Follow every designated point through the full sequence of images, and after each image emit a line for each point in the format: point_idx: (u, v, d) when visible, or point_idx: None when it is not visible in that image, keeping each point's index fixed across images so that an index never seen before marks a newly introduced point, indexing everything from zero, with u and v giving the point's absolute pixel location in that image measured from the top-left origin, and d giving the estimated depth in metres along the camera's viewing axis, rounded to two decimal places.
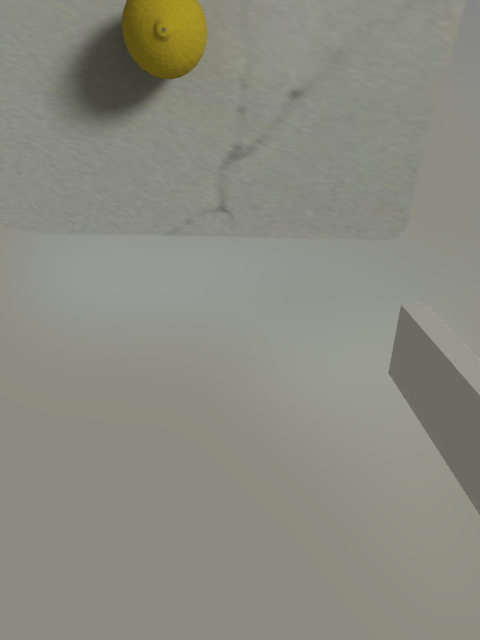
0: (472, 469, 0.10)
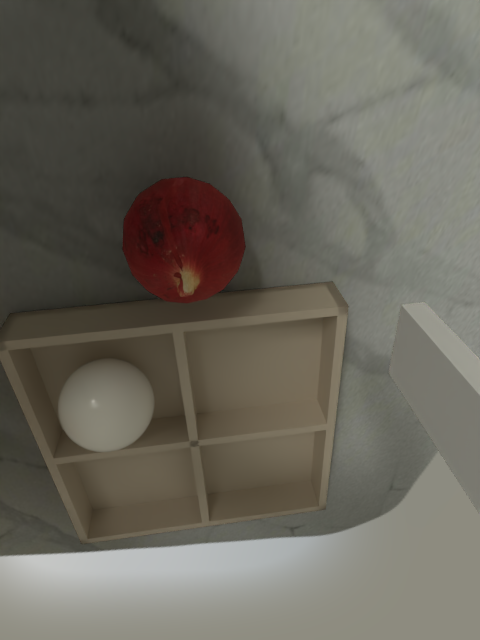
0: (472, 469, 0.10)
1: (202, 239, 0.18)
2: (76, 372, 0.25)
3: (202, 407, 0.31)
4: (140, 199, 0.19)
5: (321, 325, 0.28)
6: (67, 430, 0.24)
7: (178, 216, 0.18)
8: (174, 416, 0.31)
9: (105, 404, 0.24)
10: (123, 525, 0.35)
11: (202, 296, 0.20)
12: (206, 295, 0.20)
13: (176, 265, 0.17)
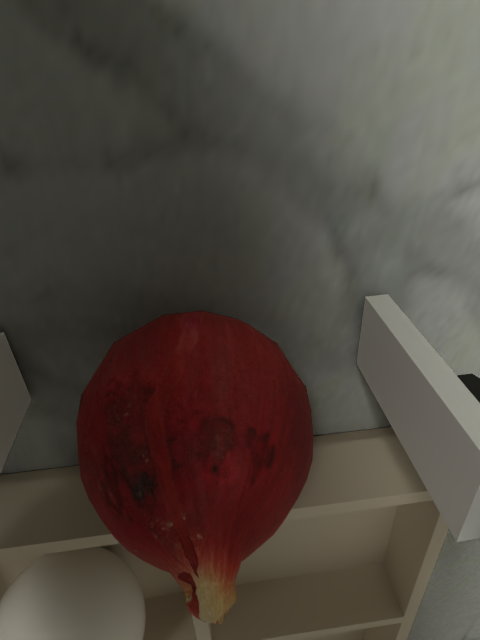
0: (423, 451, 0.11)
1: (241, 491, 0.08)
2: (16, 591, 0.15)
3: None
4: (109, 374, 0.09)
5: None
6: None
7: (189, 440, 0.08)
8: (176, 594, 0.21)
9: None
10: None
11: None
12: None
13: (184, 559, 0.08)
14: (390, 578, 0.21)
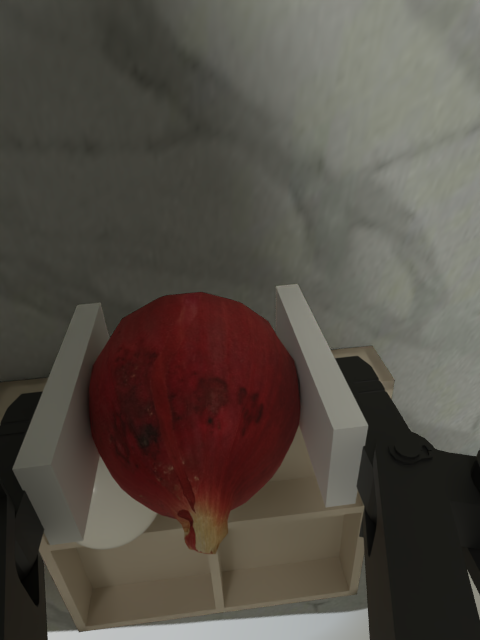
0: (307, 427, 0.12)
1: (233, 440, 0.09)
2: None
3: None
4: (118, 343, 0.11)
5: None
6: None
7: (188, 396, 0.09)
8: None
9: (106, 498, 0.20)
10: (126, 609, 0.30)
11: None
12: None
13: (183, 498, 0.09)
14: None
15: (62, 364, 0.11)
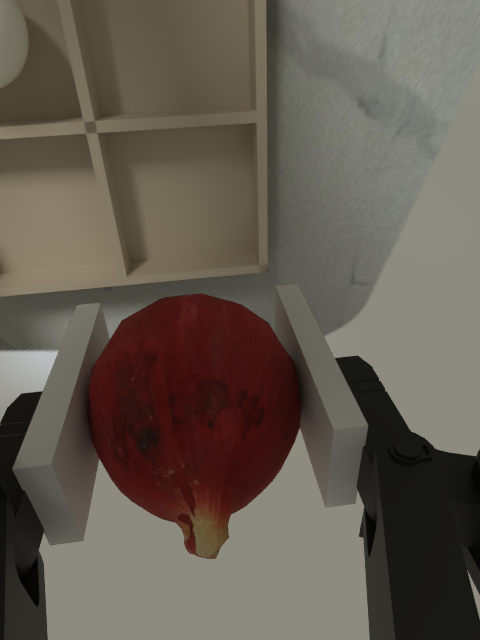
0: (307, 426, 0.12)
1: (233, 444, 0.09)
2: None
3: (108, 104, 0.25)
4: (118, 346, 0.10)
5: None
6: None
7: (188, 400, 0.09)
8: (73, 116, 0.26)
9: None
10: (24, 281, 0.29)
11: None
12: None
13: (183, 502, 0.09)
14: (252, 103, 0.26)
15: (62, 364, 0.11)
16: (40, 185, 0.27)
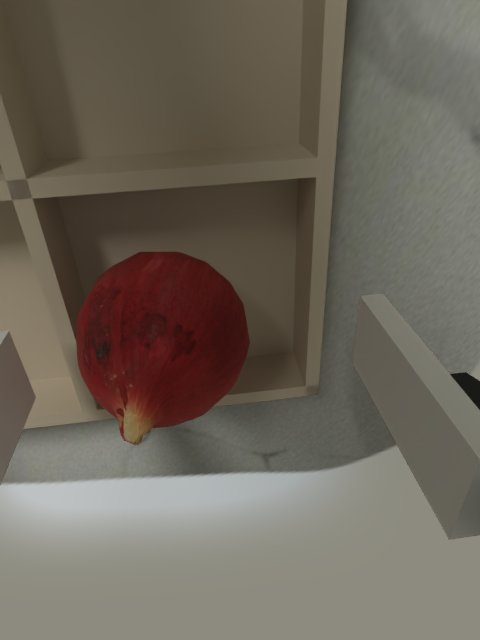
0: (416, 449, 0.11)
1: (164, 363, 0.12)
2: None
3: (58, 143, 0.15)
4: (99, 282, 0.14)
5: None
6: None
7: (135, 325, 0.12)
8: None
9: None
10: None
11: (171, 425, 0.14)
12: (178, 423, 0.14)
13: (119, 399, 0.12)
14: (305, 140, 0.15)
15: None
16: None
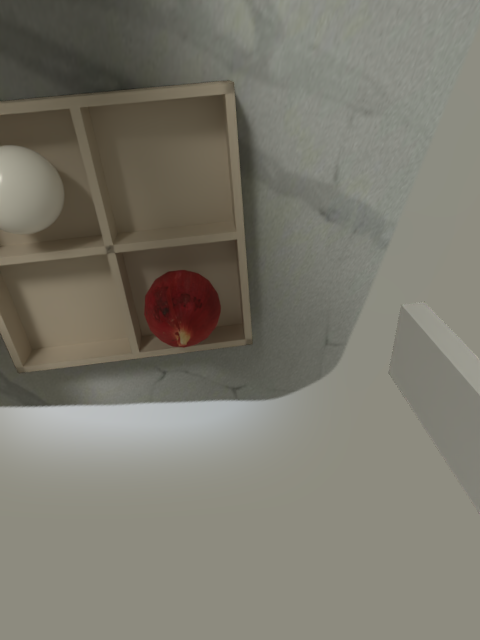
0: (472, 469, 0.10)
1: (191, 312, 0.30)
2: None
3: (122, 225, 0.33)
4: (155, 286, 0.31)
5: (224, 129, 0.30)
6: None
7: (177, 299, 0.30)
8: (96, 235, 0.33)
9: (5, 168, 0.26)
10: (58, 357, 0.36)
11: (193, 344, 0.32)
12: (195, 343, 0.32)
13: (176, 328, 0.30)
14: (234, 221, 0.33)
15: None
16: (70, 284, 0.35)
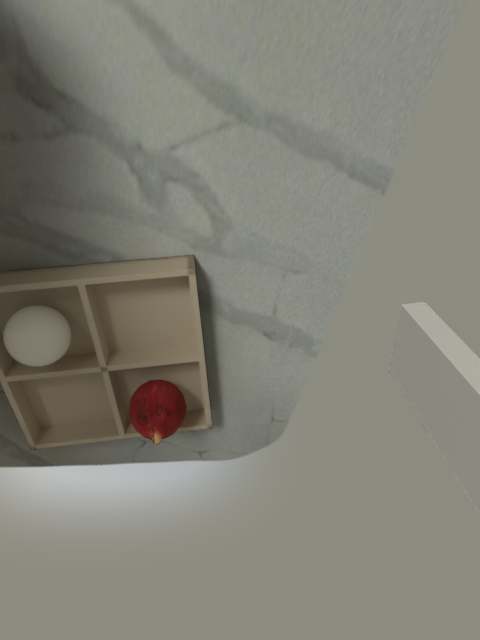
0: (472, 469, 0.10)
1: (163, 419, 0.41)
2: (15, 312, 0.38)
3: (113, 346, 0.44)
4: (137, 396, 0.43)
5: (189, 285, 0.41)
6: (8, 348, 0.37)
7: (153, 409, 0.41)
8: (93, 352, 0.44)
9: (31, 330, 0.36)
10: (62, 437, 0.47)
11: None
12: None
13: (152, 432, 0.41)
14: (197, 345, 0.44)
15: None
16: (73, 384, 0.46)
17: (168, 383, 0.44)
